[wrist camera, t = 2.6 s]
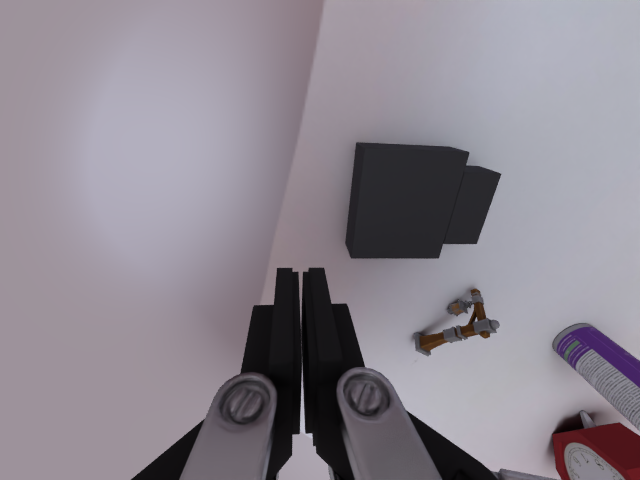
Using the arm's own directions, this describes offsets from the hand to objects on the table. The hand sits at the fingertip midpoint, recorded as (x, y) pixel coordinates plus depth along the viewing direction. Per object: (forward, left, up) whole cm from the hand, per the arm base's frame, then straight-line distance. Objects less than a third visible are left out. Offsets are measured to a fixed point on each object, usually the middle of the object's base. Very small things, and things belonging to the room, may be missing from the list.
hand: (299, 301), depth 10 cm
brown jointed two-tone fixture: (+12, +15, -12) cm, 22 cm away
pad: (0, +9, -12) cm, 15 cm away
